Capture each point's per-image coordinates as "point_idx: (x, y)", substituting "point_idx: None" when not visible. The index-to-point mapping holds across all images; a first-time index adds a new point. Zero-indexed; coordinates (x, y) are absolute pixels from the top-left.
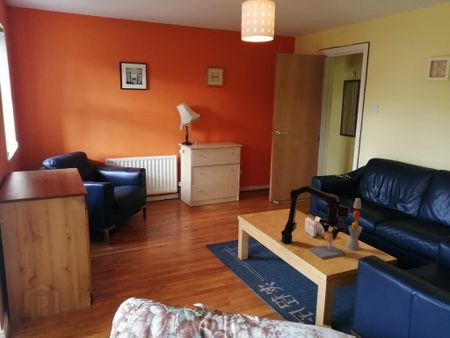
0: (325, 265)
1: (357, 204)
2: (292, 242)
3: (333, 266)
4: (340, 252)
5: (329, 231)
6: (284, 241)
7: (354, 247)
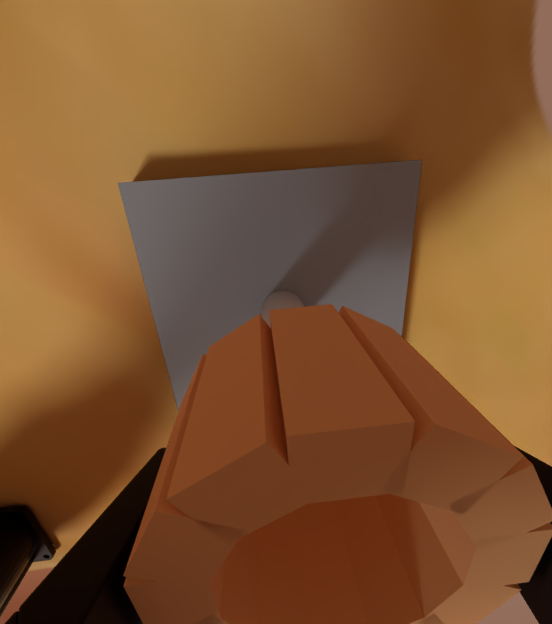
0: None
1: None
2: (24, 513)
3: (514, 406)
4: (384, 217)
5: (190, 575)
6: (26, 572)
7: None
